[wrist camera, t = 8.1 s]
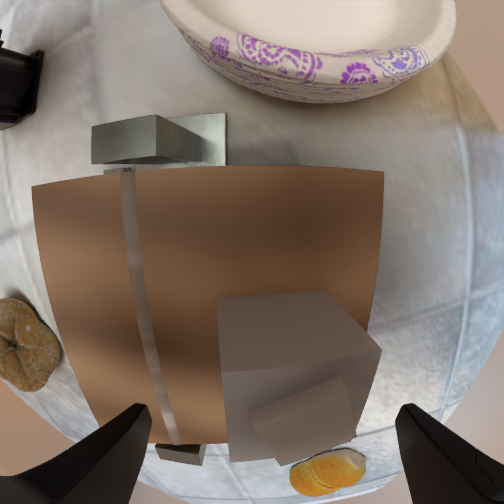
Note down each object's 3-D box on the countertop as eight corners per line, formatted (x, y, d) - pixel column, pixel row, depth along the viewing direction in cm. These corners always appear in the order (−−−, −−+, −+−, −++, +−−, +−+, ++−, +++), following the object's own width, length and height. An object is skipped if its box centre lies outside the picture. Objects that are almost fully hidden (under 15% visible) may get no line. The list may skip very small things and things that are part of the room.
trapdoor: (79, 180, 15) (30, 186, 9) (336, 170, 17) (385, 171, 11) (121, 389, 19) (106, 439, 14) (318, 378, 21) (342, 425, 16)
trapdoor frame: (110, 129, 17) (35, 116, 9) (226, 114, 16) (195, 75, 9) (149, 395, 23) (119, 456, 15) (236, 405, 22) (225, 476, 15)
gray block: (222, 383, 13) (232, 475, 8) (216, 297, 12) (222, 387, 7) (315, 373, 14) (356, 452, 9) (326, 289, 13) (392, 360, 7)
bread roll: (276, 470, 26) (276, 496, 22) (337, 439, 24) (343, 468, 20) (317, 485, 27) (320, 508, 23) (374, 458, 25) (381, 482, 21)
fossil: (34, 408, 18) (-37, 346, 15) (39, 394, 22) (-24, 339, 18) (70, 343, 22) (-2, 277, 19) (72, 336, 26) (9, 279, 22)
